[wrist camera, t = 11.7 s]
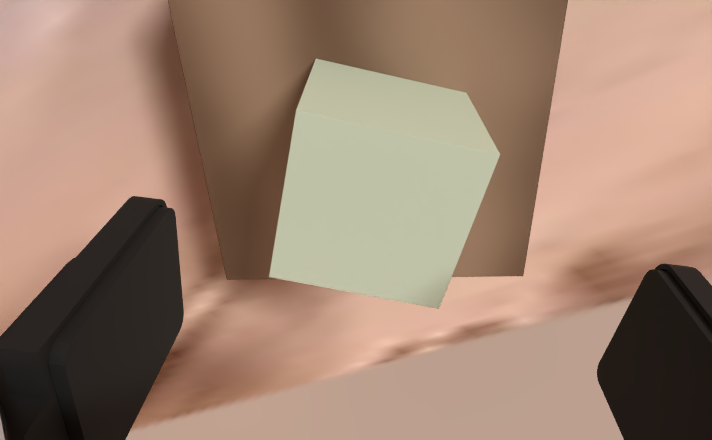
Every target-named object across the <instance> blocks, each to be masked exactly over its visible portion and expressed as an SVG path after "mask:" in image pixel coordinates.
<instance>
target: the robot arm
mask: <svg viewBox="0 0 712 440" xmlns="http://www.w3.org/2000/svg"><path fill="white" fill-rule="evenodd" d="M183 315H184V311H183V299H182V287H181V275H180V264H179V252H178V240H177V228H176V216H175V212H174V210H173V209H172V208H167V206H166V203H165V201H163V200H161V199H153V198H145V197H137V196H132V197H131V198H129V199H128V200H127V202H126V203H125V204H124V205H123V206H122V207H121V208H120V209H119V210H118V211H117V213H116V214H115V215H114V216H113V217H112V218H111V219H110V220H109V221H108V223H107V224H106V225H105V226H104V227H103V228H102V229H101V230H100V231H99V232H98V234H97V235H96V236H95V237H94V238H93V239H92V240H91V241H90V242H89V244H88V245H87V246H86V247H85V248H84V249H83V250H82V251H81V252H80V253H79V255H78V256H77V257H76V258H73V259H72V260H71V261H70V262H68V263H67V264H66V265H65V266H64V267H63V269H62V270H61V271H60V272H59V273H58V274H57V275H56V276H55V277H54V278H53V280H52V281H51V282H50V283H49V284H48V285H47V286H46V287H45V288H44V289H43V290H42V292H41V293H40V294H39V295H38V296H37V297H36V298H35V299H34V300H33V301H32V302H31V304H30V305H29V306H28V307H27V308H26V309H25V310H24V311H23V312H22V313H21V315H20V316H19V317H18V318H17V319H16V320H15V321H14V322H13V323H12V324H11V325H10V327H9V328H8V329H7V330H6V331H5V332H4V333H3V334H2V335H1V336H0V440H125V439H126V437H127V435H128V433H129V431H130V429H131V427H132V425H133V423H134V421H135V419H136V417H137V415H138V413H139V411H140V409H141V407H142V405H143V403H144V401H145V399H146V397H147V395H148V393H149V391H150V389H151V387H152V385H153V383H154V381H155V379H156V377H157V375H158V373H159V371H160V369H161V367H162V365H163V363H164V361H165V359H166V357H167V355H168V353H169V351H170V349H171V347H172V345H173V343H174V341H175V339H176V337H177V335H178V333H179V331H180V329H181V326H182V322H183ZM597 377H598V381H599V384H600V386H601V389H602V391H603V393H604V395H605V397H606V400H607V402H608V404H609V407H610V409H611V411H612V413H613V416H614V418H615V420H616V422H617V425H618V427H619V429H620V431H621V434H622V436H623V438H624V440H712V286H711V284H710V283H709V282H708V281H707V280H706V279H705V277H704V276H703V275H702V274H701V273H700V272H699V271H698V270H697V269H696V268H693V267H687V266H679V265H671V264H660V265H659V266H657V267H656V268H655V270H650V271H648V272H647V273H646V275H645V276H644V278H643V280H642V282H641V284H640V286H639V288H638V290H637V291H636V293H635V295H634V297H633V299H632V301H631V303H630V305H629V307H628V309H627V311H626V313H625V315H624V316H623V318H622V320H621V322H620V324H619V326H618V328H617V330H616V332H615V334H614V336H613V338H612V340H611V342H610V343H609V345H608V347H607V349H606V351H605V353H604V355H603V357H602V358H601V360H600V362H599V365H598V369H597Z"/></svg>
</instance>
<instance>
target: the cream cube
mask: <svg viewBox="0 0 712 440" xmlns="http://www.w3.org/2000/svg"><path fill="white" fill-rule="evenodd" d="M499 156H500V153H499V151H498V149H497V148H496V146H495V144H494V142H493V140H492V138H491V137H490V135H489V133H488V131H487V129H486V127H485V126H484V124H483V122H482V120H481V118H480V116H479V115H478V113H477V111H476V109H475V107H474V105H473V104H472V102H471V100H470V98H469V96H468V95H467V93H465V92H461V91H457V90H452V89H448V88H443V87H439V86H435V85H430V84H426V83H421V82H417V81H413V80H408V79H404V78H399V77H395V76H391V75H386V74H382V73H377V72H373V71H369V70H364V69H360V68H355V67H351V66H347V65H342V64H338V63H334V62H329V61H325V60H320V59H316V60H315V62H314V65H313V67H312V70H311V73H310V75H309V78H308V80H307V83H306V86H305V88H304V91H303V94H302V96H301V99H300V101H299V104H298V107H297V109H296V114H295V120H294V126H293V133H292V139H291V145H290V151H289V157H288V163H287V170H286V176H285V182H284V188H283V194H282V200H281V206H280V213H279V219H278V225H277V231H276V237H275V243H274V249H273V256H272V262H271V268H270V274H269V277H272V278H277V279H282V280H288V281H293V282H298V283H304V284H309V285H314V286H320V287H325V288H330V289H336V290H341V291H347V292H352V293H357V294H363V295H368V296H373V297H379V298H384V299H389V300H395V301H400V302H405V303H411V304H416V305H421V306H427V307H432V308H437V309H439V307H440V305H441V302H442V300H443V297H444V295H445V292H446V290H447V287H448V285H449V282H450V280H451V277H452V275H453V272H454V270H455V267H456V265H457V262H458V260H459V257H460V255H461V252H462V249H463V247H464V244H465V242H466V239H467V237H468V234H469V232H470V229H471V227H472V224H473V222H474V219H475V217H476V214H477V212H478V209H479V207H480V204H481V202H482V199H483V197H484V194H485V191H486V189H487V186H488V184H489V181H490V179H491V176H492V174H493V171H494V169H495V166H496V164H497V161H498V159H499Z"/></svg>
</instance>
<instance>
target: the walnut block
mask: <svg viewBox="0 0 712 440" xmlns="http://www.w3.org/2000/svg"><path fill="white" fill-rule="evenodd" d="M168 3H169V8H170V12H171V17H172V22H173V27H174V31H175V36H176V41H177V46H178V50H179V55H180V60H181V65H182V69H183V74H184V79H185V84H186V88H187V93H188V98H189V103H190V107H191V112H192V117H193V122H194V126H195V131H196V136H197V140H198V145H199V150H200V155H201V159H202V164H203V169H204V174H205V178H206V183H207V188H208V193H209V197H210V202H211V207H212V212H213V216H214V221H215V226H216V231H217V235H218V240H219V245H220V250H221V254H222V259H223V264H224V269H225V273H226V278H227V280H239V279H277V278H272V277H269V274H270V268H271V262H272V256H273V249H274V243H275V237H276V231H277V225H278V219H279V213H280V206H281V200H282V194H283V188H284V182H285V176H286V170H287V163H288V157H289V151H290V145H291V139H292V133H293V126H294V120H295V114H296V109H297V107H298V104H299V101H300V99H301V96H302V94H303V91H304V88H305V86H306V83H307V80H308V78H309V75H310V73H311V70H312V67H313V65H314V62H315V60H316V59H320V60H325V61H329V62H334V63H338V64H342V65H347V66H351V67H355V68H360V69H364V70H369V71H373V72H377V73H382V74H386V75H391V76H395V77H399V78H404V79H408V80H413V81H417V82H421V83H426V84H430V85H435V86H439V87H443V88H448V89H452V90H457V91H461V92H465V93H467V95H468V96H469V98H470V100H471V102H472V104H473V105H474V107H475V109H476V111H477V113H478V115H479V116H480V118H481V120H482V122H483V124H484V126H485V127H486V129H487V131H488V133H489V135H490V137H491V138H492V140H493V142H494V144H495V146H496V148H497V149H498V151H499V153H500V156H499V159H498V161H497V164H496V166H495V169H494V171H493V174H492V176H491V179H490V181H489V184H488V186H487V189H486V191H485V194H484V197H483V199H482V202H481V204H480V207H479V209H478V212H477V214H476V217H475V219H474V222H473V224H472V227H471V229H470V232H469V234H468V237H467V239H466V242H465V244H464V247H463V249H462V252H461V255H460V257H459V260H458V262H457V265H456V267H455V270H454V272H453V275H452V277H482V276H523V274H524V268H525V262H526V255H527V249H528V243H529V237H530V231H531V225H532V219H533V212H534V206H535V200H536V194H537V188H538V182H539V175H540V169H541V163H542V157H543V151H544V145H545V138H546V132H547V126H548V120H549V114H550V108H551V101H552V95H553V89H554V83H555V77H556V71H557V65H558V58H559V52H560V46H561V40H562V34H563V28H564V21H565V15H566V9H567V3H568V0H168Z"/></svg>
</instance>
